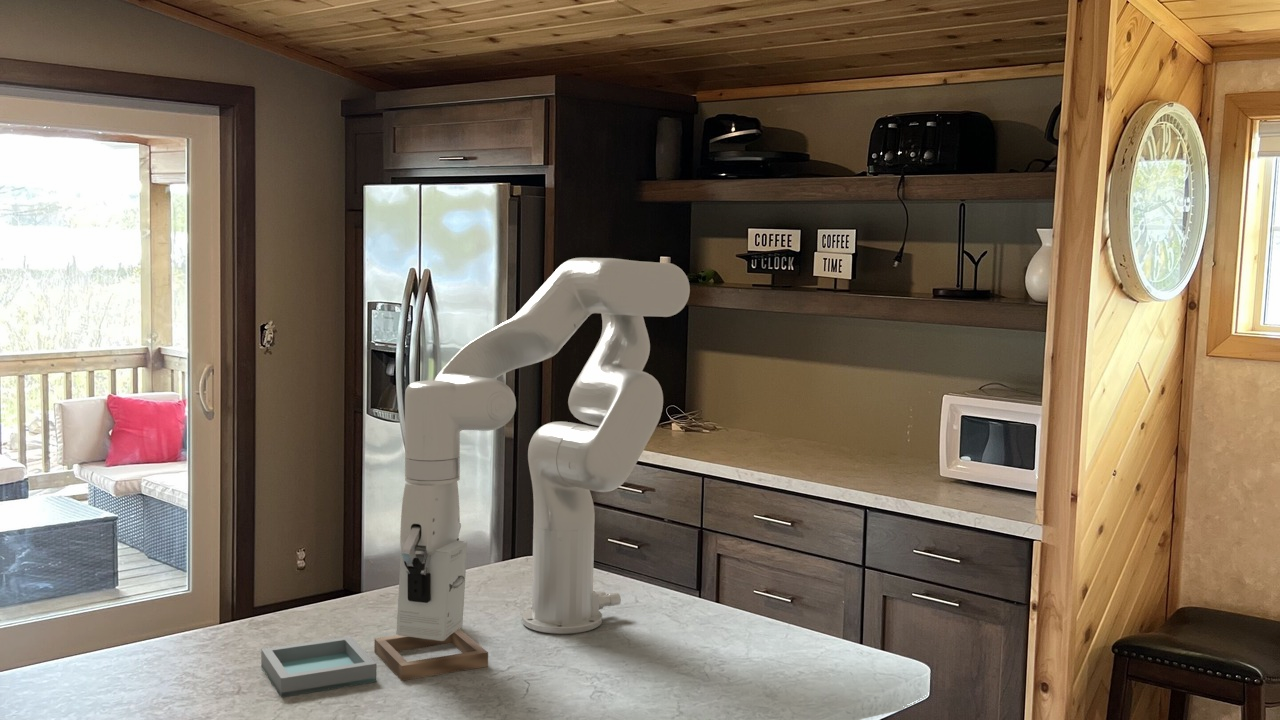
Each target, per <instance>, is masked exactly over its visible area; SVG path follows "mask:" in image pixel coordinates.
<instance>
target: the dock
mask: <svg viewBox="0 0 1280 720" xmlns="http://www.w3.org/2000/svg"><path fill="white" fill-rule="evenodd" d="M260 653H261V654H260V659H261V660H260V661H261V662H260V665H261V666H260V667H261V668H262V670H263V672H264V673H265V675H266V676H267V677H268V679H269V681H270V682H271V684H272V686H273V687H274V689H275V690H276V692H277V694H278V695H279V696H280V698H285V697H291V696H292V697H293V696H298V695H304V694H309V693H310V694H311V693H315V692H321V691H329V690H334V689H340V688H347V687H353V686H360V685H365V684H371V683H376V682H377V665H378V664H377V662H376V661H375V660H374V659H373V658H372V657H371V656H370V655H369V654H368V653H367V652H366V651H365V649H364V648H363V647H362V646H361V645H360V644H359V643H358V642H357V641H356V640H355V639H354V637H352V636H350V635H349V636H343V637H337V638H336V637H335V638H331V639H330V638H327V639H322V640H314V641H309V642H307V641H306V642H301V643H293V644H287V645H279V646H273V647H265V648H261V649H260Z"/></svg>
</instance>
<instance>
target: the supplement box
mask: <svg viewBox="0 0 1280 720" xmlns="http://www.w3.org/2000/svg"><path fill="white" fill-rule="evenodd" d="M416 550H421V551H426V548H420V547H416ZM467 552H468V541H465V540H464V541H463V540H459V541H457V540H456V541H454V542H452V543H450V544H448V545H445V546H443V547H441V548H439V549H437V550H436V553H434V554H433V555H431V560H430V564H429V568H428V572H427V573H430V574H431V600H430V601H429V602H428V603H423V602H413V601H409V600H408V574H407V573H406V566H405V564H404V559H403V557H402V554H401V553H400V563H399V564H400V566H399V579H398V580H399V583H398V596H397V597H398V599H397V616H396V635H402V636H408V637H415V638H422V639H430V640H437V641H444V640H445V639H446V638H447V637H449V636H450V635H451V634H452V633H454V632H455V631H456V630H458V629H461V628H462V627H463V624H464V623H463V622H464V609H465V608H464V605H465V589H466V571H467V554H468V553H467ZM416 558H419V560H420V562H421V563H422V562H423V558H424V557H420V556H416Z"/></svg>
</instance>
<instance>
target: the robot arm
mask: <svg viewBox="0 0 1280 720" xmlns="http://www.w3.org/2000/svg"><path fill="white" fill-rule="evenodd" d="M689 281H690V280H689V278H688V276H687V275H686V273H685V272H684V271H683V269H682V268H680V267H679V266H677V265H676V264H674V263H670V262H658V261H657V262H654V261H639V260H633V259H632V260H631V259H630V260H629V259H623V258H615V257H614V258H613V257H575V258H574V257H573V258H571V259H568V260H566V261H564V262H562V263H561V264H560V265H559V266H558V267H557V268H556V269H555V271H553V273H552V274H551V275H550V276H549V277H548V278H547V279H546V281H544V282H543V284H542V285H541V286H540V287H539V288H538V289H537V290H536V291H535V292H534V294H533V295H531V296H530V298H529V300H527V302H526V303H524V305H523V306H522V307H521V308H520V309H519V310H518V311H517V312H516V313H515V315H513V316H512V317H511V318H509V319H507V320H506V321H504V322H502V323H500V324H498V325H496V326H495V327H492V329H490V330H489V331H487V332H485V333H484V334H482V335H480V336H478V337H477V338H475V339H474V340H472V341H469V343H468V344H466V345H465V346H463V347H462V348H461V349H459V350H458V352H457V353H456V354H454V356H452V358H451V359H450V360H449V361H448V362H447V363H446V364H445V365H444V366H443V368H441V370H440V371H439V372H438V374H437V375H436V376H435V378H434V379H433V380H432V379H431V380H429V379H428V380H419V381H418V380H417V381H414V382H411V383H410V384H408V385H407V386H406V389H405V393H404V481H405V484H404V488H403V489H404V490H403V496H402V503H401V515H400V532H399V533H400V537H399V541H400V543H399V548H400V555H401V554H402V557H403V559H404V564H405V566H406V573H407V574H408V600H409V601H413V602H423V603H428V602H429V601H430V600H431V574H430V573H427V572H428V568H429V564H430V560H431V555H433V554H434V553H436V550H437V549H439V548H441V547H443V546H445V545H448V544H450V543H452V542H454V541H456V540H457V541H460V538H459V536H460V532H461V527H462V524H461V521H460V515H461V514H460V498H459V494H460V493H459V484H458V482H459V481H460V478H461V475H460V473H461V469H460V466H461V465H460V463H461V459H460V457H461V452H460V451H461V441H460V440H461V439H460V437H461V435H460V434H461V432H462V431H483V432H484V431H485V432H488V431H489V432H490V431H495V430H498V429H501V428H502V427H504V426H505V425H507V424H508V423H509V422H510V421H511V420H512V418H513V417H514V415H515V412H516V409H517V401H516V396H515V393H514V392H513V390H512V389H511V387H509V386H508V385H507V384H506V383H504V382H503V381H501V380H498V378H499V377H501V376H502V375H505V374H507V373H508V372H511V371H513V370H516V369H519V368H523V367H527V366H531V365H534V364H537V363H540V362H543V361H545V360H548V359H550V358H553V357H554V356H555V355H556V354H558V353H559V352H560V351H561V349H562V348H563V346H564V345H566V343H567V342H568V341H569V340H570V339H571V337H572V336H573V335H574V334H575V333H576V332H577V331H578V329H579V328H580V327H581V326H582V325H583V323H584V322H585V321H587V319H588V317H590V316H591V315H592V314H601V320H602V324H601V325H602V327H601V328H602V329H601V334H600V338H599V339H598V342H597V343H596V345H595V348H594V349H593V351H592V353H591V355H590V356H589V358H588V360H587V361H586V363H585V364H584V366H583V368H582V370H581V372H580V373H579V375H578V376H577V377H576V380H575V382H574V383H573V385H572V387H571V389H570V392H569V396H568V401H567V404H568V409H569V411H570V413H571V414H572V415H573V417H574V418H576V419H578V420H579V421H580V422H583V423H586V424H582V423H578V422H577V423H576V422H570V421H569V422H568V421H552V422H548V423H546V424H543V425H542V426H540V427H539V428H538V429H537V430H536V431H535V432H534V433H533V435H532V436H531V439H530V442H529V444H528V450H527V461H528V467H529V468H528V469H529V474H530V480H531V487H532V494H533V495H532V496H533V497H532V499H533V523H532V524H533V525H532V527H533V529H532V582H531V583H532V584H531V585H532V587H531V588H532V589H531V590H532V591H531V592H532V593H531V596H532V597H531V607H530V608H527V609H526V610H524V612H522V614H521V622H522V624H523V626H525V627H527V628H529V629H530V630H533V631H536V632H539V633H546V634H554V635H555V634H556V635H563V634H565V635H567V634H578V633H580V634H581V633H584V632H588V631H592V630H594V629H596V628H598V627H599V626H601V625H602V623H603V614H602V612H601V611H600V610H603V609H604V607H614V606H619V605H621V602H622V601H621V600H622V598H621V595H620V593H619V592H614V593H608V594H606V592H605V591H599V592H598V591H594V563H595V562H594V556H595V555H594V553H595V551H594V550H595V523H596V522H595V520H596V519H595V518H596V517H595V515H596V512H595V505H594V500H593V498H592V494H591V492H592V491H593V492H599V493H608V492H612V491H614V490H617V489H618V488H620V487H621V486H622V485H624V483H625V482H626V481H627V479H628V477H630V475H631V473H632V471H633V470H634V468H635V466H636V464H637V463H638V461H639V459H640V457H641V455H642V454H643V452H644V450H645V448H646V447H647V444H648V442H649V441H650V439H651V437H652V435H653V434H654V432H655V430H656V428H657V426H658V424H659V422H660V420H661V416H662V412H663V408H664V407H663V406H664V393H663V390H662V386H661V384H660V383H659V381H658V379H656V378H655V377H654V376H653V375H652V374H649V373H648V372H646V371H644V369H645V367H646V364H647V362H648V359H649V356H650V354H651V353H650V351H651V343H650V337H649V333H648V329H647V327H646V323H645V319H644V317H663V318H668V317H672V316H674V315H677V314H678V313H680V312H681V311H682V310H683V309H684V308H685V306H686V304H687V303H688V301H689V297H690V292H691V289H690V288H691V287H690V282H689ZM587 424H588V425H587ZM591 425H592V426H591ZM416 547H420V548H426V551H421V550H416ZM416 556H420V557H424V558H423V562H422V563H421V562H420V560H419V558H416Z"/></svg>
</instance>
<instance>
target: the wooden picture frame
mask: <svg viewBox="0 0 1280 720" xmlns="http://www.w3.org/2000/svg"><path fill="white" fill-rule="evenodd" d="M450 644H451V645H453V646H454V647H455V648H456V649H458V650H459V651H460V652H461V653H456V654H449V655H444V656H436V657H431V658H424V659H423V658H421V659H417V660H411V661H407V660H406V659H405V658H404V657H403V655H401V654H400V652H405V651H409V650H410V651H411V650H416V649H417V650H418V649H423V648H431V647H437V646H443V645H450ZM374 653H375V655H377V657H378V658H379V659H380V660H381V662H383V663H384V664H385V665H386V666H387V668H389V669H390V670H391V671H392V673H394V674H395V676H397V677H398V679H399V680H400V681H407V680H413V679H419V678H424V677H425V678H426V677H431V676H438V675H443V674H450V673H455V672H456V673H457V672H462V671H467V670H474V669H475V670H476V669H479V668H486V667H488V666H489V652H488V651H487V650H486V649H484V647H482V646H481V645H480V644H478V643H477V642H476V641H475V640H473V639H472V638H471V637H470V636H468V634H466V633H465V632H464V631H463V630H461V628H459V629H458V630H456V631H455V632H454V633H452V634H451V635H450V636H449V637H447V638H446V639H445V640H444V641H437V640H430V639H422V638H415V637H408V636H402V635H397V634H396V635H391V636H390V635H389V636H384V637H377V638H374Z"/></svg>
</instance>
